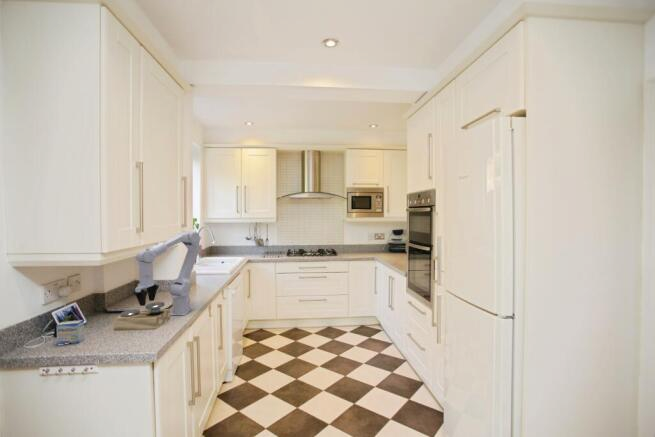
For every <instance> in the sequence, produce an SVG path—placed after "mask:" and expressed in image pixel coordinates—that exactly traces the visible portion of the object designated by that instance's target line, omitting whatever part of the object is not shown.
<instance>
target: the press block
mask: <svg viewBox="0 0 655 437" xmlns="http://www.w3.org/2000/svg"><path fill="white" fill-rule="evenodd" d="M139 310H140V314H138V315H135V316H131V317H121V316H120V315H119V316H117V317H115V318H114V319H113V327H114V328H113V330H114V331H126V330H127V331H128V330H132V331H134V330H135V331H136V330H156V329H157V327H158V328H160V327H161V326H162V325H163V324H165V323H166V322H167V321H169V320H170V316H171V315H170V314H171V313H170V308H162V309H161V308H160V314H159V315H151V310H150V309H139ZM160 325H161V326H160Z"/></svg>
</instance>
